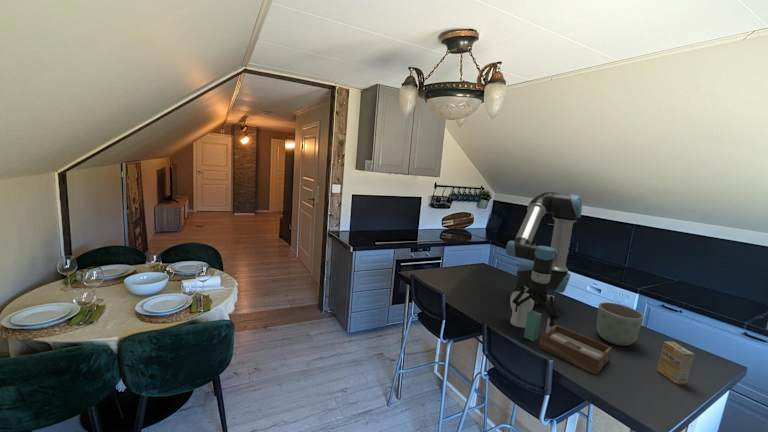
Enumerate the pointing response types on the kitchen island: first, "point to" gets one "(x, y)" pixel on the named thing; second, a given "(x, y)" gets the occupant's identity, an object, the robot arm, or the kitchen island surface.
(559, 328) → the crate
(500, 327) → the kitchen island surface
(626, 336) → the planter
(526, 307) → the cup
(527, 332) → the peg
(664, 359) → the supplement box
